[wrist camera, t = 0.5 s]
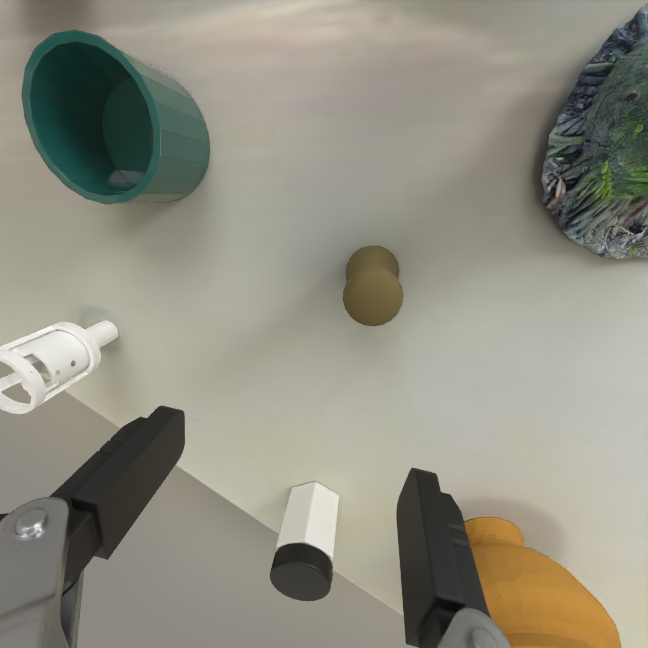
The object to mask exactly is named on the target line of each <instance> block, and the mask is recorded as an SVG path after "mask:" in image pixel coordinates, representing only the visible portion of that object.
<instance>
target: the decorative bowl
mask: <svg viewBox="0 0 648 648" xmlns="http://www.w3.org/2000/svg"><path fill="white" fill-rule="evenodd" d="M464 524H465V528H466V533H467V535H468V539H469V542H470V548H471V550H472V553H473V557H474V561H475V564H476V568H477V571H478V575H479V579H480V582H481V586H482V590H483V593H484V597H485V601H486V604H487V608H488V611H489V614H490V616H491V618H492V620H493V621H494V622H495V623H496V624H497V625H498V626H499V628H500V629H501V630H502V631H503V633H504V634H505V636H506V638H507V639H508V641H509V643H510V645H511V647H512V648H621V643H620V638H619V633H618V630H617V628H616V625H615V623H614V621H613V620H612V619H611V617H610V616H609V614H608V613H607V611H606V610H605V608H604V607H603V605H602V604H601V603H600V602H599V601H598V600H597V599H596V598H595V597H594V596H593V595H592V594H591V593H590V592H589V591H588V590H587V589H586V588H585V587H584V586H583V585H582V584H581V583H580V582H579V581H578V580H577V579H576V578H575V577H574V576H573V575H572V574H571V573H570V572H569V571H567V570H566V569H565V568H564V567H562V566H561V565H560V564H558V563H557V562H555V561H554V560H552V559H551V558H549V557H548V556H546V555H544V554H542V553H539V552H537V551H535V550H533V549H530V548H526V547H523V541H524V539H523V535H522V533H521V531H520V529H519V528H518V527H516V526H515V525H514V524H513V523H510V522H508V521H505V520H502V519H500V518H493V517H482V518H475V519H472V520H468V521H466V522H464Z"/></svg>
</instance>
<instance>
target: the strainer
mask: <svg viewBox="0 0 648 648" xmlns="http://www.w3.org/2000/svg"><path fill="white" fill-rule="evenodd" d="M38 336H40V338H38V339H36V340H34V341H31V342H29V343H27V344H24V345H22V346H20V347H18V348H15V349H13V350H11V351H8V349H10V348H12V347H15V346H17V345H19V344H22V343H24V342H26V341H29V340H31V339H33V338H36V337H38ZM117 337H118V330H117V328H116V326H115V325H114V324H113V323H111V322H109V321H106V320H104V321H101V322H99V323H97V324H95V325H92V326H90V327H88V328H86V329H83V328H81V327H80V326H78V325H75V324H73V323H69V322H59V323H56V324H54V325H51V326H49V327H47V328H44V329H42V330H39V331H37V332H34V333H32V334H30V335H27V336H25V337H22V338H20V339H17V340H15V341H13V342H10V343H8V344H5V345H3V346H1V347H0V361H2V362H4V363H6V364H7V365H9V366H11V367H12V369H13V371H14V372H15V373H13V374H10V375H7V376H5V377H3V378H0V409H2V410H4V411H7V412H10V413H14V414H23V413H27V412H29V411H31V410H32V409H34V408H35V407H37V406H39V405H40V404H42V403H43V402H45V401H46V400H48V399H49V398H51V397H53V396H54V395H56V394H57V393H59V392H61V391H62V390H64V389H65V388H67V387H68V386H70V385H72V384H73V383H75V382H76V381H78V380H79V379H81V378H83V377H84V376H86V375H87V374H89V373H90V372H92V371H94V370H95V369H96V368H97V367H98V366H99V364H100V360H101V354H100V350H99V348H101V347H103V346H104V345H106V344H108V343H110V342H111V341H113V340H115V339H116V338H117ZM40 372H42V373H47V374H49V378H51V380H50V381H48V382H46V383H44V381H43V379H42V377H41V376H40V374H39V373H40ZM70 377H73V378H71V379H69V378H70ZM67 379H69V380H68V381H66V382H64V381H65V380H67ZM22 381H23V382H22ZM20 382H22V383H21V384H22V387H23V388H24V390H27V391H28V393H29V395H31V402H30V404H24V403H19V402H16V401H14V400H11V399H10V398H8V397H6V396H5V395H4V394H2V393H1V391H3V390H5V389H7V388H9V387H10V386H13V385H15V384H17V383H20ZM62 382H64V383H63V384H61V385H60V386H58V387H56V386H57V385H59V384H60V383H62ZM54 387H56V388H55V389H53V390H52V391H50V392H49V393H47V394H46V392H47V391H49V390H50V389H52V388H54Z"/></svg>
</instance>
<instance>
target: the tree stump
mask: <svg viewBox="0 0 648 648" xmlns="http://www.w3.org/2000/svg"><path fill="white" fill-rule="evenodd" d="M548 143H549V146H548V150H547V153H546V158H545V161H544V164H543V170H544V172H543V174H542V179H541V180H542V184H543V187H544V192H545V194H544V197H543V200H542V201H543V202H544V205H545V207H546V208H548V209H550V210H551V212H552V214H553V218H554V219H555V220H556V221H557V222H558V223H559V224H560V226H561V230H562V231H563V232H564V233H565V234H566V235H567V237H568V238H569V239H570V240H571V241H572V242H575V243H577V244H579V245H581V246H583V247H585V248H589V249H590V250H591V251H592V252H593V253H595V254H597V255H600V256H601V257H603V258H610V259H630V258H648V4H646V5H645V6H643V7H641V8H640V10H639V11H638V12H637V13H636V15H635V16H634V18H633V19H632V20H631V21H629V22H628V23H626V25H625V26H624V27H623V28H620V29H617V28H616V29H615V30H614V31H613V33H612V35H611V36H610V37H609V38H608V39H607V41H606V42H605V43H604V44H603V45H602V48H601V49H600V51H599V52H598V53H597V54H596V55H595V56H594V57H593V58H592V59H591V60H590V61H589V62H588V63H587V64H586V66H585V67H584V69H583V70H582V73H581V74H580V76H579V78H578V82H577V84H576V87H575V89H574V90H573V92H572V93H571V95H570V96H569V98H568V101H567V102H566V103H565V105H564V107H563V111H562V113H561V114H560V115H559V116H558V117H557V123H556V126H555V128H554V129H553V130H552V132H551V133H550V134H549V141H548Z"/></svg>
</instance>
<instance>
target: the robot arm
mask: <svg viewBox="0 0 648 648" xmlns="http://www.w3.org/2000/svg"><path fill="white" fill-rule="evenodd" d="M184 445H185V416H184V412H183V411H182V410H178V409H174V408H170V407H166V406H159V407H158V408H157V409H156V410H155V411H154V412H153V413H152V414H151V415H150V416H149V417H148V418H143V417H139V418H138V419H136V420H134V421H132V422H130V423H128V424H127V425H125V426H123V427H122V428H121V429H120V430H119V431H118V432H117V433H116V434H115V435H114V436H113V437H112V438H111V440H110V441H108V442H106V444H104V445H103V446H102V447H101V448H100V451H97V452H96V453H95V454H94V455H93V456H92V457H91V458H90V459H89V460H88V461H87V462H86V463H85V464H83V465H82V466H81V467H80V468H79V469H78V470H77V471H76V472H75V473H74V474H73V475H72V476H71V477H70V478H69V479H68V480H67V481H66V482H65V483H64V484H63V485H61V487H59V488H58V489H57V490H56V491H55V492H54V493H53V494H52V495H50V496H49V497H43V498H38V499H35V500H32V501H30V502H27V503H25V504H23V505H21V506H19V507H18V508H16V509H15V510H13V511H12V512H10V513H7V514H0V648H77V639H78V629H79V618H80V607H81V597H82V588H83V577H84V568H85V567H86V566H87V564H88V563H89V562H90V560H91V559H92V557H93V556H97V557H100V558H104V559H107V560H108V558H109V557H110V556H111V554H112V553H113V551H114V550H115V549H116V547H117V546H118V544H119V543H120V542H121V540H122V539H123V538H124V536H125V535H126V533H127V532H128V531H129V529H130V528H131V526H132V525H133V523H134V522H135V521H136V519H137V518H138V516H139V515H140V514H141V512H142V511H143V509H144V508H145V507H146V505H147V504H148V502H149V501H150V500H151V498H152V497H153V495H154V494H155V493H156V491H157V490H158V488H159V487H160V486H161V484H162V483H163V481H164V480H165V478H166V477H167V476H168V474H169V473H170V472H171V470H172V469H173V467H174V466H175V465H176V463H177V462H178V460H179V458H180V457H181V454H182V452H183V449H184ZM397 530H398V543H399V557H400V570H401V583H402V597H403V610H404V624H405V637H406V644H408V645H412V646H416V647H419V648H512V647H511V645H510V643H509V641H508V639H507V638H506V636H505V634H504V633H503V631H502V630H501V629H500V628H499V626H498V625H497V624H496V623H495V622H494V621H493V620H492V618H491V616H490V614H489V611H488V608H487V604H486V601H485V597H484V593H483V590H482V586H481V582H480V579H479V575H478V571H477V568H476V564H475V561H474V557H473V553H472V550H471V548H470V542H469V539H468V535H467V533H466V528H465V524H464V521H463V517H462V513H461V511H460V509H459V507H458V506H457V504H456V503H455V501H454V500H453V498H452V496H451V495H450V494H446V493H442V492H441V491H440V486H439V482H438V478H437V475H436V474H435V473H432V472H428V471H424V470H420V469H416V468H411V470H410V472H409V474H408V477H407V479H406V482H405V484H404V486H403V489H402V491H401V494H400V496H399V499H398V504H397Z"/></svg>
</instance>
